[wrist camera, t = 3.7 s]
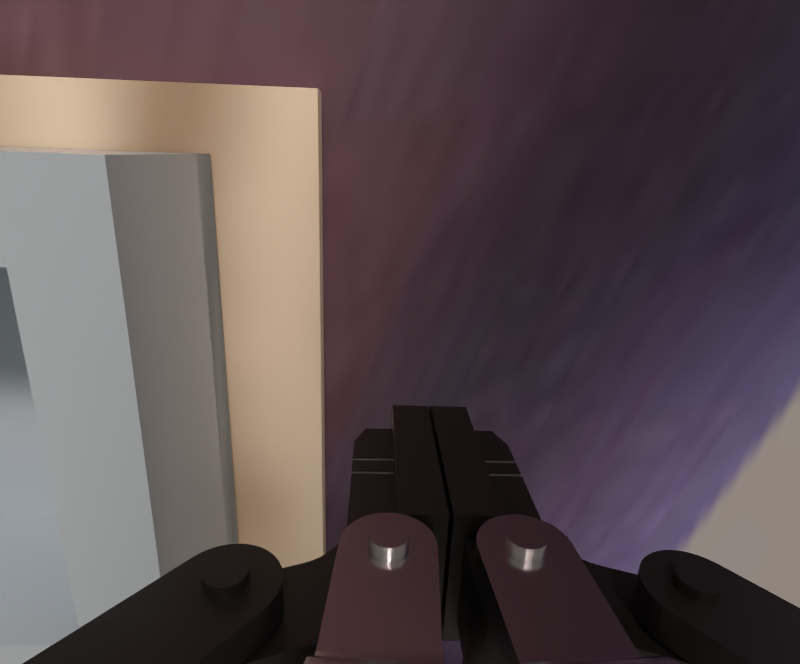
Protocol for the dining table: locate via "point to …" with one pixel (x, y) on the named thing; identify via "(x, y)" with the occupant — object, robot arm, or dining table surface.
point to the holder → (106, 383)
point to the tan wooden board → (232, 263)
